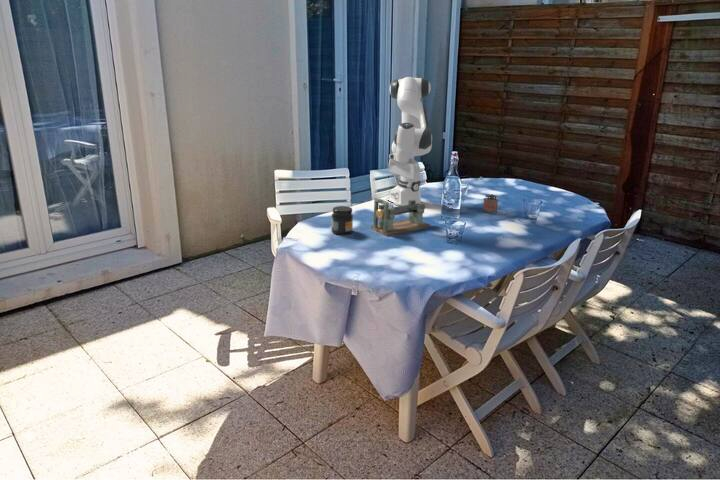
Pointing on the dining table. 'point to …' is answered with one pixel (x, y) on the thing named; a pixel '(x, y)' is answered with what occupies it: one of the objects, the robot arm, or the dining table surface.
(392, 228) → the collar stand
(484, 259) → the dining table surface
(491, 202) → the lighter
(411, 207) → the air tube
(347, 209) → the supplement container
